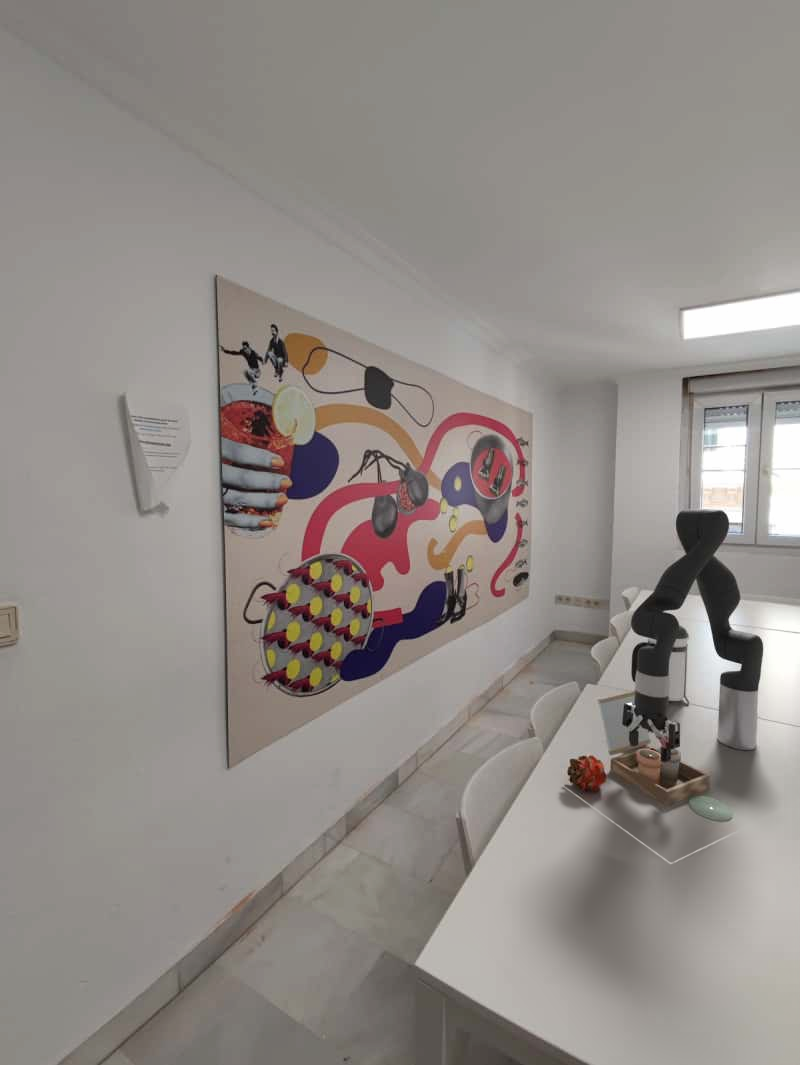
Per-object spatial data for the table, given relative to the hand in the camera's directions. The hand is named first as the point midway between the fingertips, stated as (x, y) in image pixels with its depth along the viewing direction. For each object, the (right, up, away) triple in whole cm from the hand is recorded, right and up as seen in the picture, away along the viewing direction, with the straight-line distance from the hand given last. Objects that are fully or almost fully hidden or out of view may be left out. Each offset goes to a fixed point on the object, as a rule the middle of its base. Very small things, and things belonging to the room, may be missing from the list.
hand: (648, 753), depth 120 cm
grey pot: (+7, -8, +4) cm, 11 cm away
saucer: (+9, -9, -9) cm, 16 cm away
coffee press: (+32, -5, +52) cm, 62 cm away
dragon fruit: (-16, -8, 0) cm, 18 cm away
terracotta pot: (0, -8, +1) cm, 8 cm away
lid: (-1, +4, +11) cm, 11 cm away
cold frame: (+2, -8, +5) cm, 10 cm away
